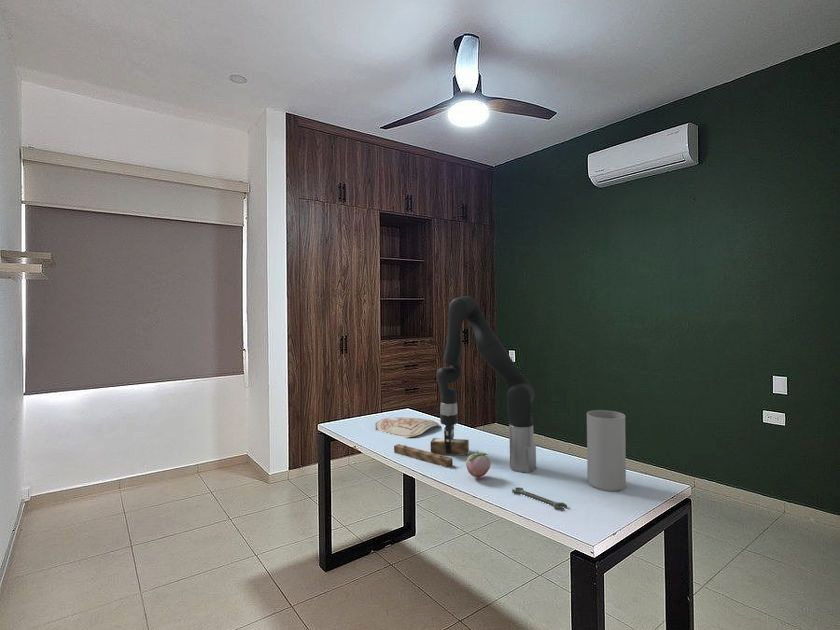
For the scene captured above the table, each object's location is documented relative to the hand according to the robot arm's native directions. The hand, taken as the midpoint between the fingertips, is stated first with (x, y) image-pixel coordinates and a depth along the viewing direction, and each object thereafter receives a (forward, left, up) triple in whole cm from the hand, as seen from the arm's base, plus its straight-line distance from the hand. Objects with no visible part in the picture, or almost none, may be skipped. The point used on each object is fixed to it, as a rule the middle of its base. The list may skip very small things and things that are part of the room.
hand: (449, 450), depth 197 cm
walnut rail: (+4, +14, -1) cm, 14 cm away
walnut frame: (0, 0, -1) cm, 1 cm away
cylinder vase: (-65, -6, -1) cm, 65 cm away
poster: (+41, -17, -2) cm, 44 cm away
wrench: (-52, +20, -1) cm, 56 cm away
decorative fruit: (-26, +17, -1) cm, 31 cm away
